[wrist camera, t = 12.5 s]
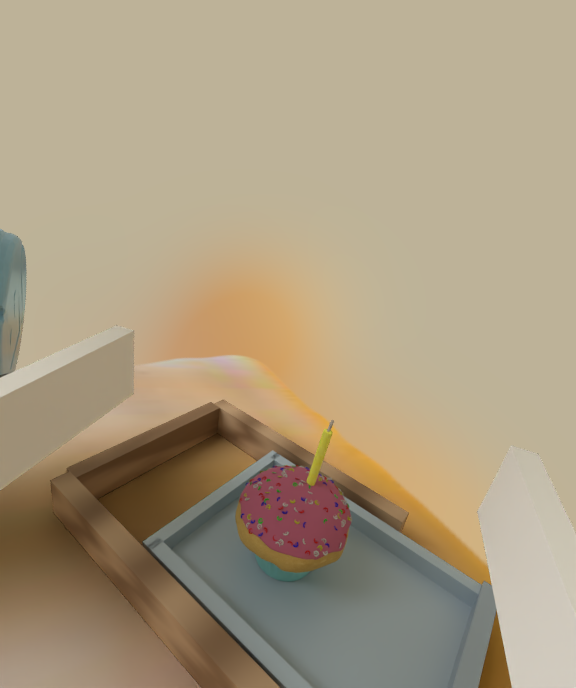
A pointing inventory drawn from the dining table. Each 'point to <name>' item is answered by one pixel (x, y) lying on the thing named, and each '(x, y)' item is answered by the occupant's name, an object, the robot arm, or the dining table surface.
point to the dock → (144, 570)
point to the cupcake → (294, 518)
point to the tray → (333, 601)
